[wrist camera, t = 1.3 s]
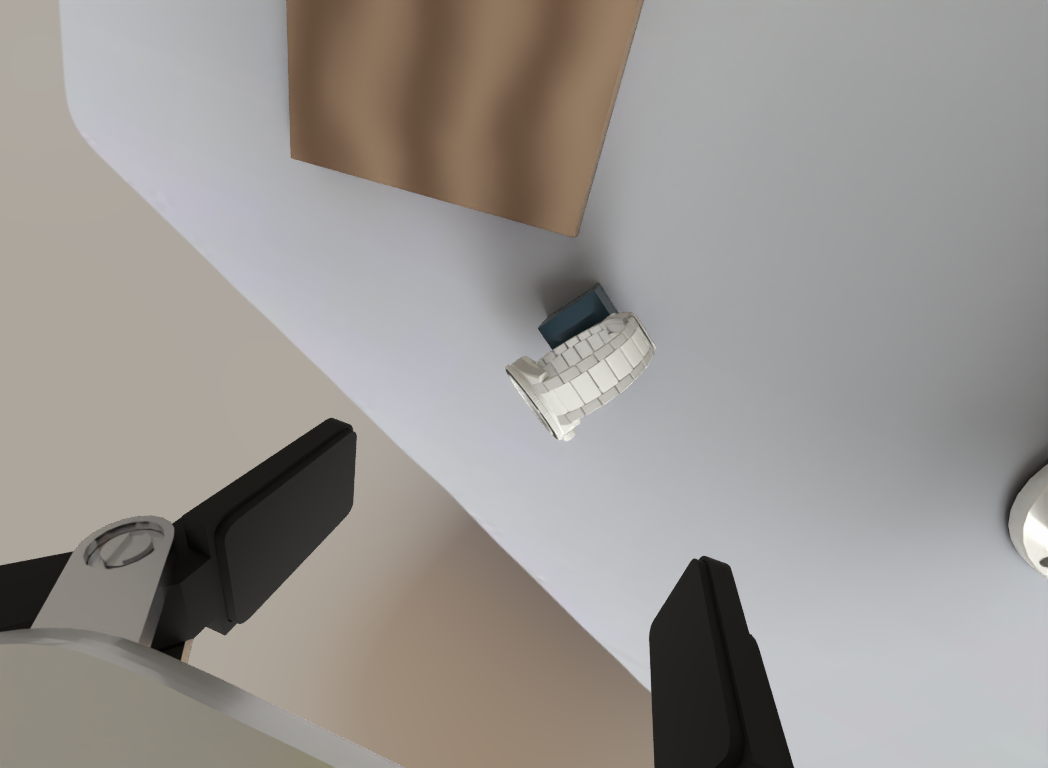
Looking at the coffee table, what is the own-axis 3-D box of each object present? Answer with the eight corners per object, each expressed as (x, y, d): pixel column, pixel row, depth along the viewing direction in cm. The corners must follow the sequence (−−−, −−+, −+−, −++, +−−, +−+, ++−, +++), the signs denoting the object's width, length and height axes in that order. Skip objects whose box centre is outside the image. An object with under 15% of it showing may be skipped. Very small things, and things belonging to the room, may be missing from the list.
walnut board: (676, -116, 18) (680, -152, 17) (577, 235, 25) (572, 237, 24) (310, -169, 21) (280, -204, 19) (312, 161, 28) (290, 157, 26)
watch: (526, 331, 29) (469, 389, 19) (622, 267, 25) (612, 298, 16) (568, 391, 30) (534, 476, 20) (666, 338, 26) (682, 408, 17)
